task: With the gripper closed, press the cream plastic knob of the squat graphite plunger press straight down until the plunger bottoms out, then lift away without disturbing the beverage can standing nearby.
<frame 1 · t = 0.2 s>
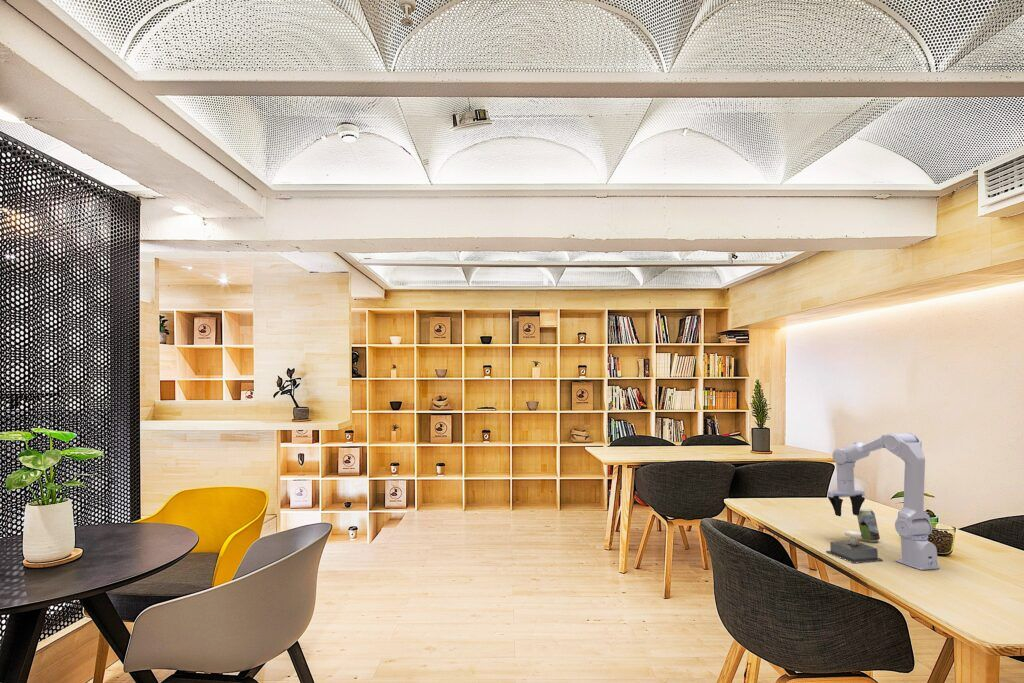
hand: (847, 515, 211), 10 cm above the table, tool pointing down, fingers open, 7 cm apart
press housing: (853, 556, 192), on the table
plunger: (853, 538, 192), point 6 cm above the table, slide at 0.0 cm
beverage can: (868, 541, 211), on the table
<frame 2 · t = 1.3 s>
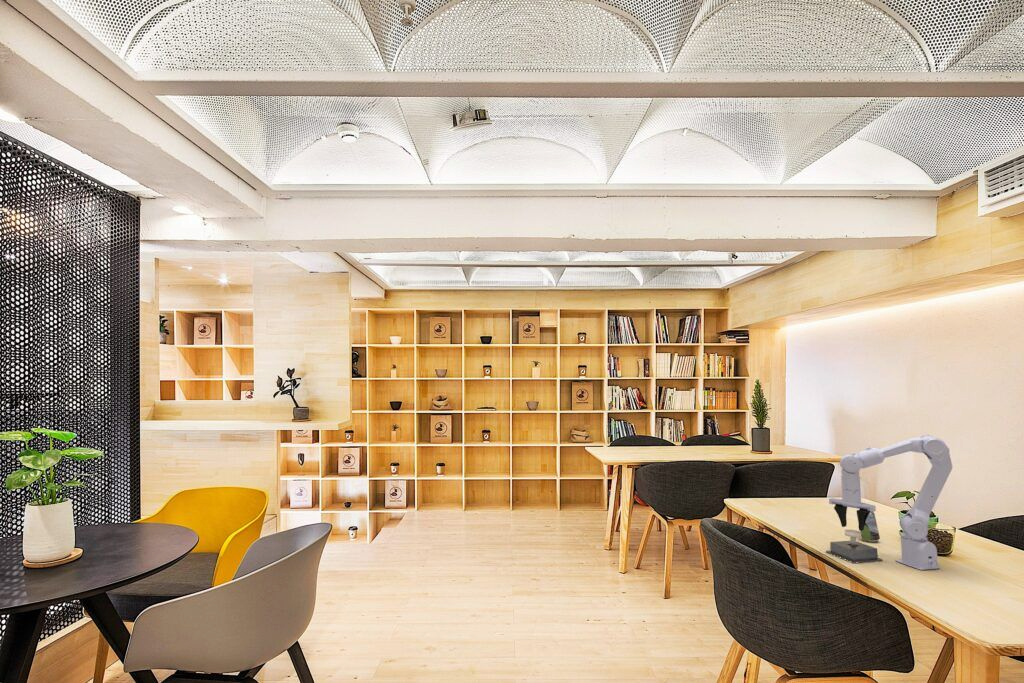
hand: (852, 528, 193), 10 cm above the table, tool pointing down, fingers open, 5 cm apart
nothing on the table moved.
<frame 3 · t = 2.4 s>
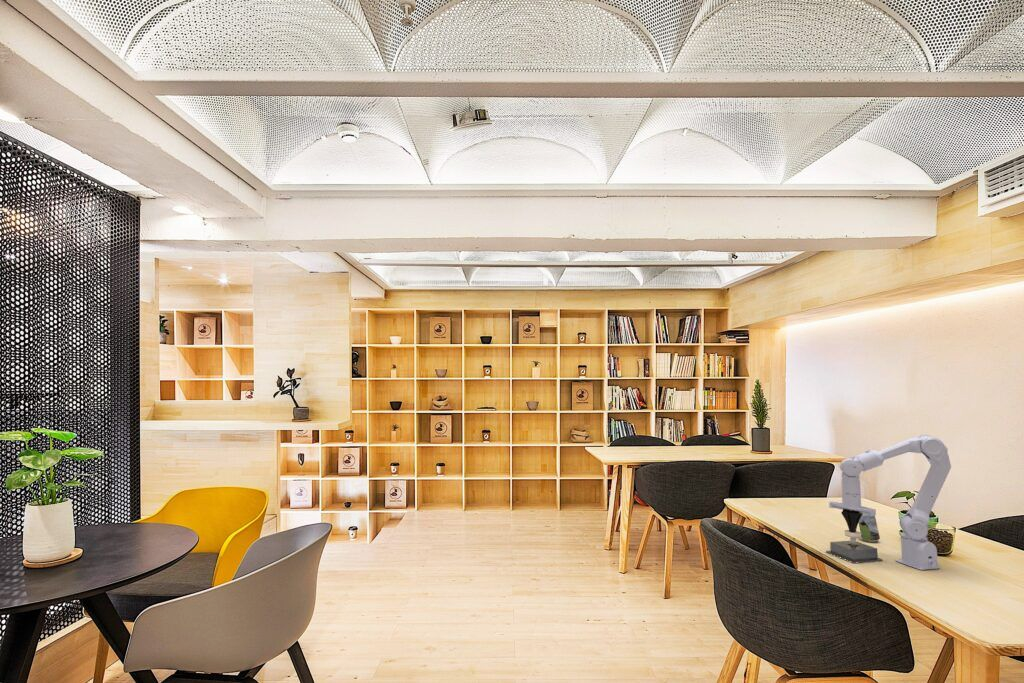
hand: (852, 532, 193), 9 cm above the table, tool pointing down, fingers closed, pressing on plunger
plunger: (853, 539, 192), point 6 cm above the table, slide at 0.2 cm, touching gripper
everything else where it was.
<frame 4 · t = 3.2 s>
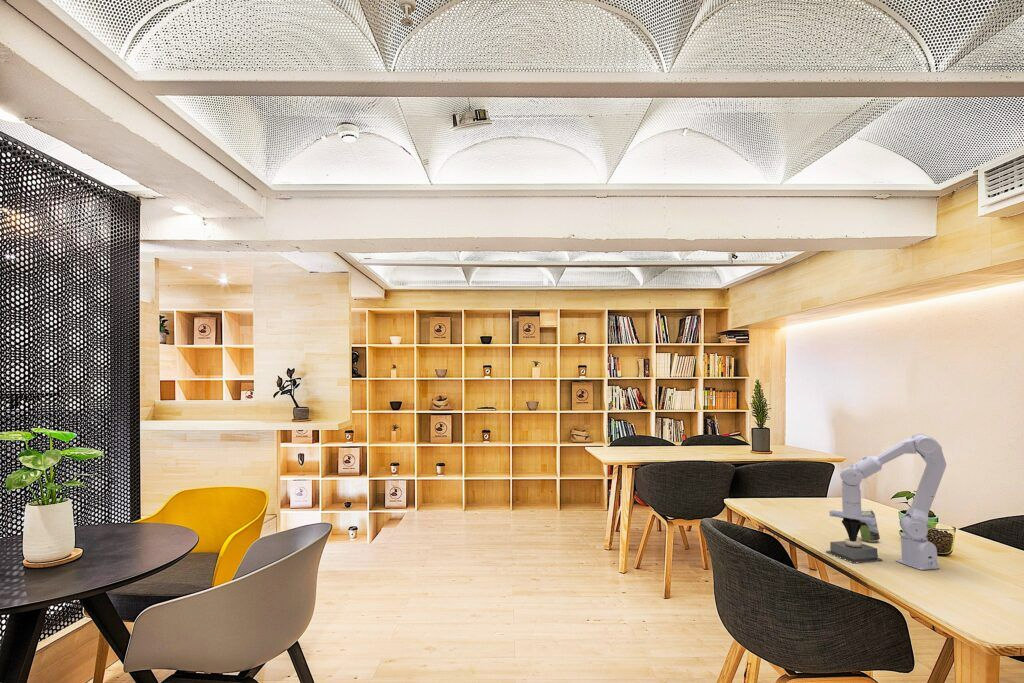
hand: (853, 540, 192), 5 cm above the table, tool pointing down, fingers closed, pressing on plunger
plunger: (853, 547, 192), point 3 cm above the table, slide at 3.2 cm, touching gripper, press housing
everything else where it was.
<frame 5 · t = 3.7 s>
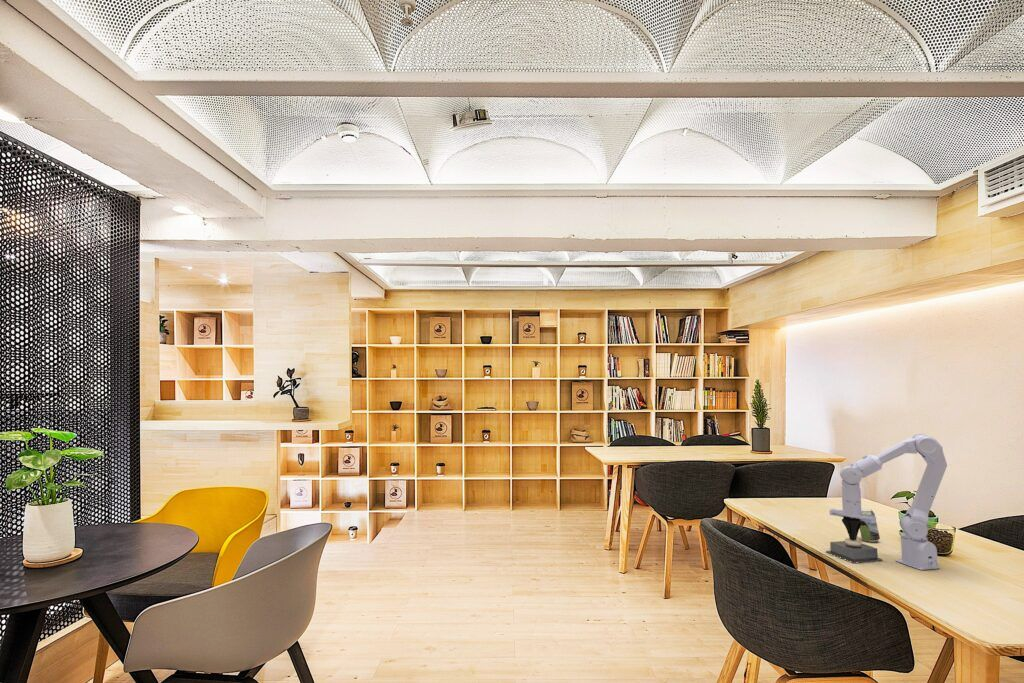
hand: (853, 539, 192), 6 cm above the table, tool pointing down, fingers closed
plunger: (853, 547, 192), point 3 cm above the table, slide at 3.1 cm
everything else where it was.
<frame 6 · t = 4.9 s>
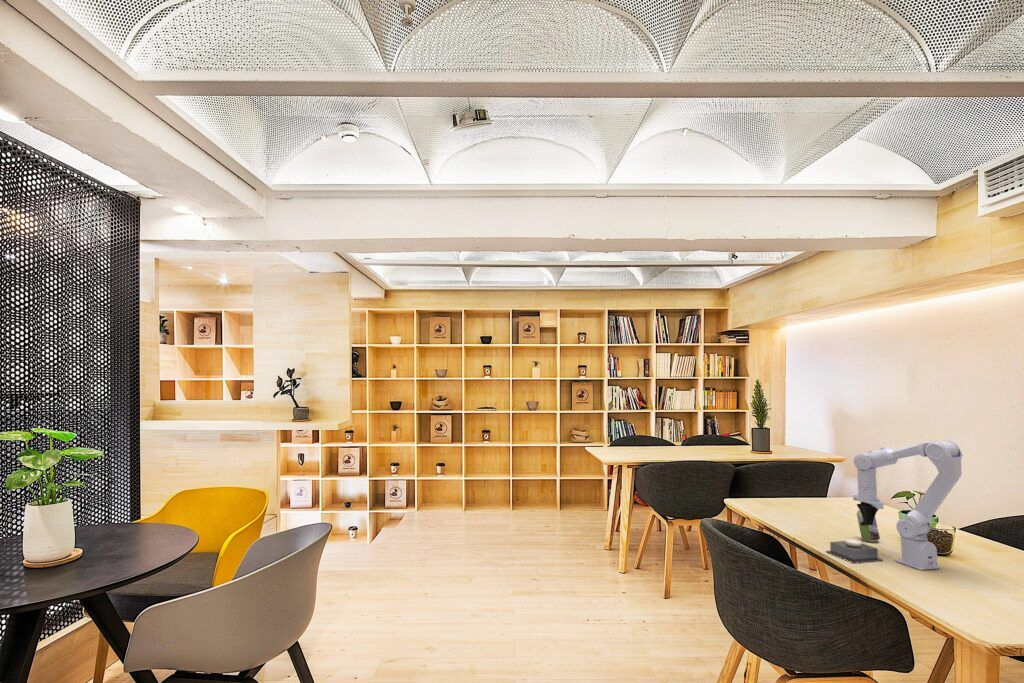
hand: (868, 524, 198), 10 cm above the table, tool pointing down, fingers closed
nothing on the table moved.
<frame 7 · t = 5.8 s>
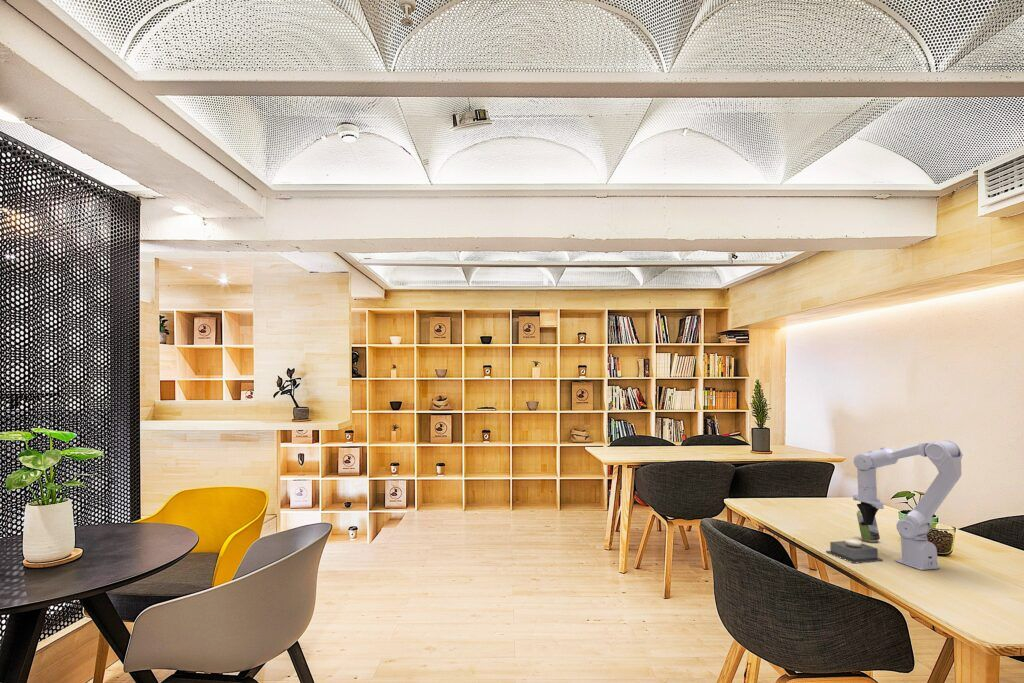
hand: (868, 524, 198), 10 cm above the table, tool pointing down, fingers closed
nothing on the table moved.
at the end: plunger slide at 3.1 cm; beverage can tilted 0°; beverage can moved 0.2 cm from its start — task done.
